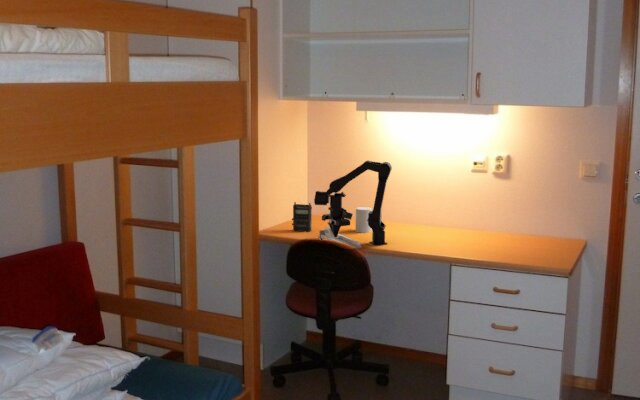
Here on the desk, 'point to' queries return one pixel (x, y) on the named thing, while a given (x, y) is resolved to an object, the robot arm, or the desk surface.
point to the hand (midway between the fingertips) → (335, 237)
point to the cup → (362, 219)
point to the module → (329, 233)
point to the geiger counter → (301, 217)
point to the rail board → (341, 239)
